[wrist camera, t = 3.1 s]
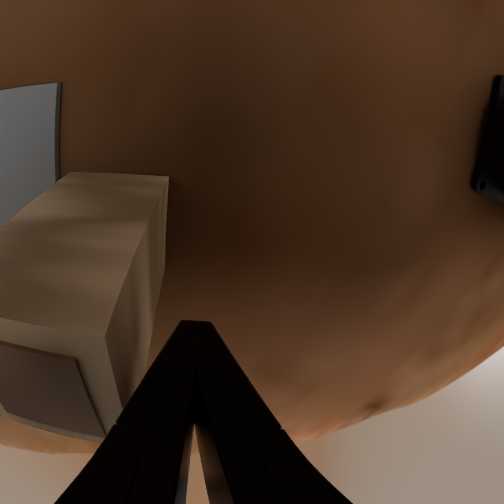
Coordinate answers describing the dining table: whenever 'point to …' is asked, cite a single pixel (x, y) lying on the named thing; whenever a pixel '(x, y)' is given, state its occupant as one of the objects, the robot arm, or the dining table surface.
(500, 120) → the robot arm
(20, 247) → the pillar
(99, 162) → the dining table surface
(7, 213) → the mat
